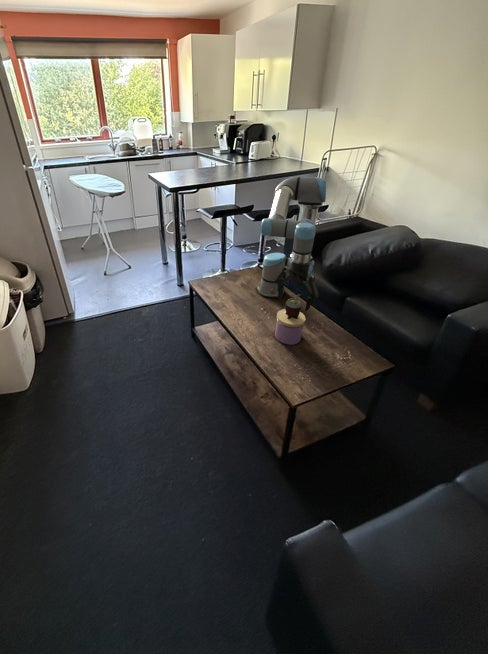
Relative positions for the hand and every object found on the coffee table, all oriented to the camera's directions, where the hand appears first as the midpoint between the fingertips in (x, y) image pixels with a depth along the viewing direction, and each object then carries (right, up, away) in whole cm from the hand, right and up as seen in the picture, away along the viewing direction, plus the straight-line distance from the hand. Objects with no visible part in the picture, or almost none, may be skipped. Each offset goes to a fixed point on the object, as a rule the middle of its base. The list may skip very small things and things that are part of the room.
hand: (293, 303), depth 142 cm
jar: (0, -16, +9) cm, 18 cm away
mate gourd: (0, -6, +3) cm, 7 cm away
